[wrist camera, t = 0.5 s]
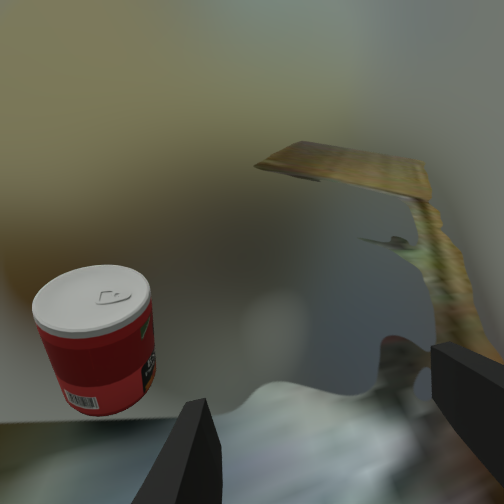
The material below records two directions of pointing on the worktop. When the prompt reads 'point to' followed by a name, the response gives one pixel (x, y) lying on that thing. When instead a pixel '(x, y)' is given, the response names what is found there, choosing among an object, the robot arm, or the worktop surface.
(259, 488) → the worktop surface
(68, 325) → the canned food
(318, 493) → the worktop surface
